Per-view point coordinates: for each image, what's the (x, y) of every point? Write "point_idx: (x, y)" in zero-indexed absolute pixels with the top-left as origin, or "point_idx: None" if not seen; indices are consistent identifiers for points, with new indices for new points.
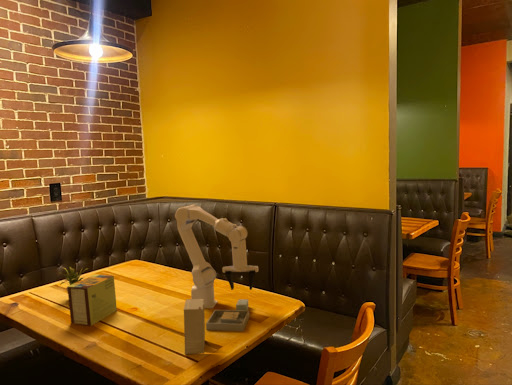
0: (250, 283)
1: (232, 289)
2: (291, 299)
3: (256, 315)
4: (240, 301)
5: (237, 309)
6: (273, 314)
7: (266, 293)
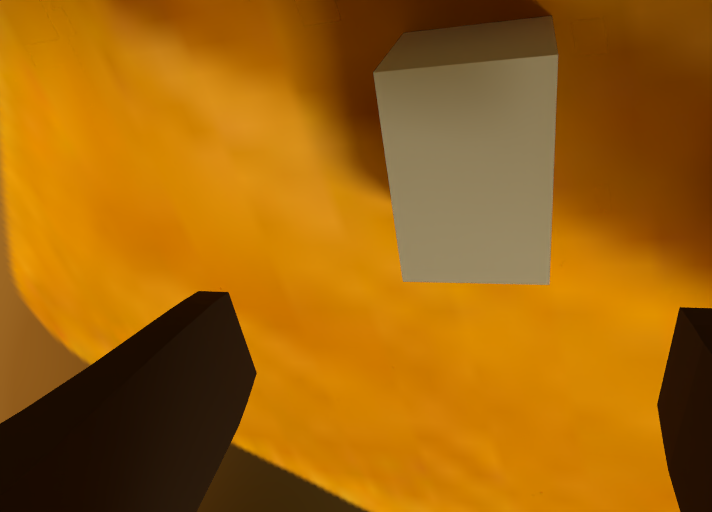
0: (89, 388)
1: (694, 311)
2: None
3: (263, 22)
4: (504, 214)
5: (533, 35)
6: (98, 80)
7: (346, 482)
